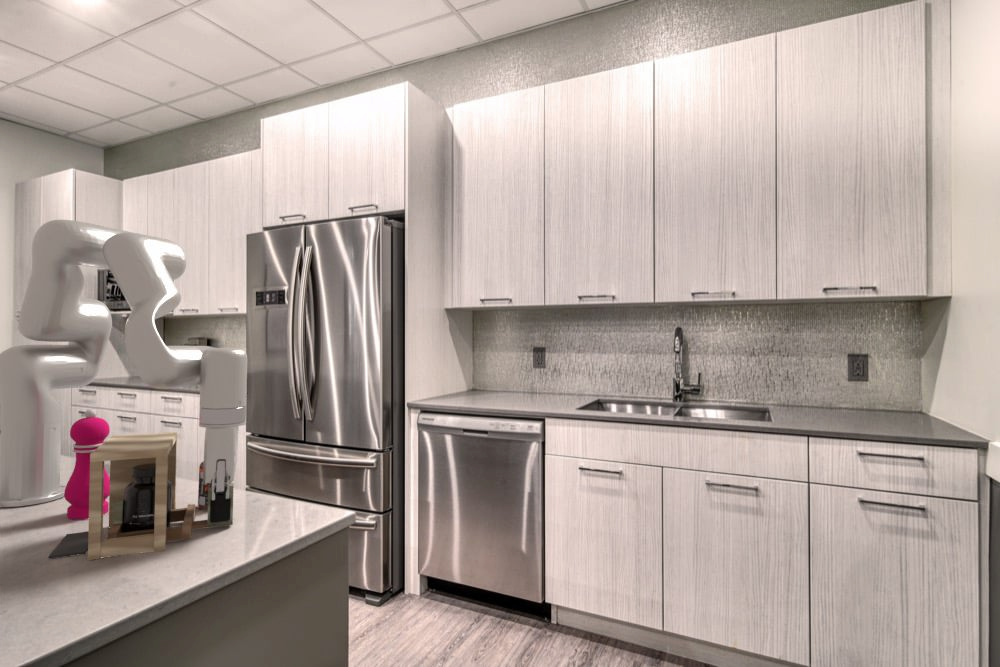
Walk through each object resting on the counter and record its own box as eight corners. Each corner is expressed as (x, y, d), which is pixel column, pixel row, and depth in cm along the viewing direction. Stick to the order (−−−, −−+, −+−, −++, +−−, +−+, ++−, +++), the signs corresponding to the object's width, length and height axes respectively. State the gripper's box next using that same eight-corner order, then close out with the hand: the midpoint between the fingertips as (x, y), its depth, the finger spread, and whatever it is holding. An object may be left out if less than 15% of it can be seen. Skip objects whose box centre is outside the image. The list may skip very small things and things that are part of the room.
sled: (120, 526, 95) (121, 486, 95) (232, 513, 102) (233, 476, 102) (106, 549, 84) (108, 505, 84) (232, 533, 92) (233, 492, 92)
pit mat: (66, 536, 91) (66, 534, 91) (100, 532, 93) (100, 530, 93) (48, 558, 82) (48, 556, 82) (85, 554, 84) (85, 551, 84)
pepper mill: (85, 522, 97) (88, 412, 98) (53, 518, 99) (56, 410, 99) (121, 509, 105) (123, 407, 105) (90, 506, 106) (93, 405, 106)
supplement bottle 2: (201, 513, 104) (203, 454, 104) (194, 505, 108) (195, 449, 108) (235, 507, 107) (236, 451, 108) (226, 500, 112) (228, 446, 112)
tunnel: (110, 526, 96) (112, 435, 96) (175, 518, 100) (177, 432, 100) (87, 560, 81) (90, 454, 82) (164, 550, 86) (167, 449, 86)
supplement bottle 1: (133, 547, 87) (135, 473, 87) (115, 537, 91) (116, 466, 91) (178, 534, 93) (179, 465, 93) (158, 526, 96) (160, 459, 96)
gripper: (202, 411, 102) (199, 508, 102) (195, 424, 88) (192, 537, 88) (245, 409, 105) (243, 503, 105) (246, 422, 91) (243, 530, 91)
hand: (220, 517), depth 96 cm, fingers closed on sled, 2 cm apart
